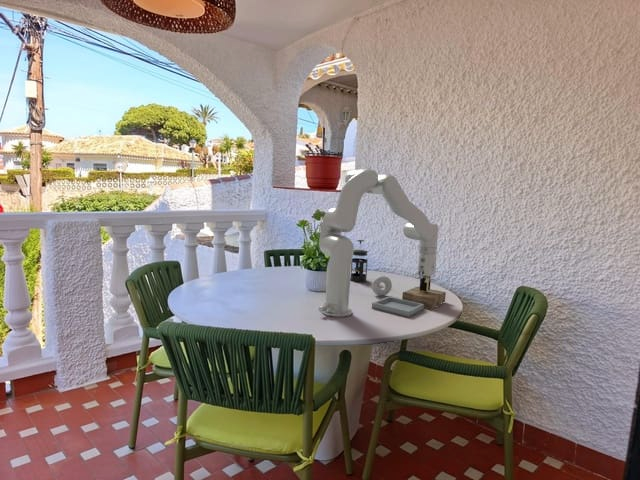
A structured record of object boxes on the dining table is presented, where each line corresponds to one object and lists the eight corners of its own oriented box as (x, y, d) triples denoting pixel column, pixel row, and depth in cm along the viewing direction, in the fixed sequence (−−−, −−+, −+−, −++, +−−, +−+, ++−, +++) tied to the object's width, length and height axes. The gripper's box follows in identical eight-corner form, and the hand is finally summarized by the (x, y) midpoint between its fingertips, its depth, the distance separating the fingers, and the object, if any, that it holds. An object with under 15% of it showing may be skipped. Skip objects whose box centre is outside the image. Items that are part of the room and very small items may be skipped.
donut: (372, 296, 184) (373, 276, 183) (370, 294, 187) (371, 274, 186) (392, 296, 186) (393, 276, 184) (389, 294, 189) (391, 274, 188)
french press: (348, 278, 222) (350, 238, 219) (364, 278, 223) (366, 239, 220) (352, 283, 210) (354, 241, 207) (369, 283, 211) (371, 241, 209)
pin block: (431, 309, 167) (432, 298, 166) (401, 303, 175) (402, 292, 175) (444, 302, 179) (445, 292, 179) (416, 296, 188) (417, 286, 187)
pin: (425, 304, 175) (427, 278, 174) (419, 302, 177) (421, 277, 176) (428, 302, 178) (430, 277, 176) (421, 301, 180) (423, 276, 178)
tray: (408, 317, 155) (408, 311, 154) (371, 308, 165) (372, 302, 165) (423, 309, 166) (424, 304, 166) (388, 301, 177) (388, 296, 177)
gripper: (428, 253, 166) (425, 294, 168) (442, 249, 179) (439, 288, 181) (412, 251, 170) (409, 291, 173) (427, 247, 183) (424, 285, 185)
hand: (424, 289), depth 177 cm, fingers closed on pin, 3 cm apart
